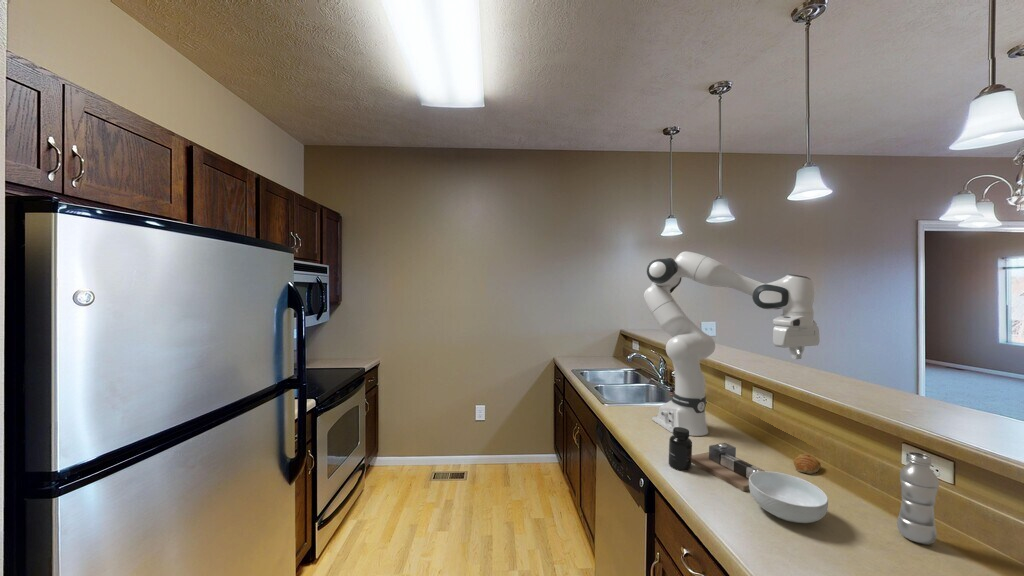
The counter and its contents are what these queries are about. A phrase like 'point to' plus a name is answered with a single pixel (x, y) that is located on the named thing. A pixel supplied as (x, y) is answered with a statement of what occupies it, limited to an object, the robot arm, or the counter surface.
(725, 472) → the walnut board
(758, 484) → the cereal bowl
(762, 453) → the counter surface
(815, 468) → the pastry
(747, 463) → the loose tong arm
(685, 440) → the supplement bottle
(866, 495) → the counter surface
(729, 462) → the fixed tong arm
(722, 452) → the tong hinge
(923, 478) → the plastic bottle
